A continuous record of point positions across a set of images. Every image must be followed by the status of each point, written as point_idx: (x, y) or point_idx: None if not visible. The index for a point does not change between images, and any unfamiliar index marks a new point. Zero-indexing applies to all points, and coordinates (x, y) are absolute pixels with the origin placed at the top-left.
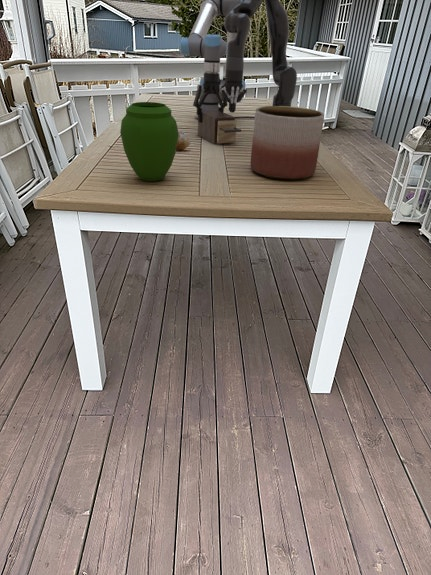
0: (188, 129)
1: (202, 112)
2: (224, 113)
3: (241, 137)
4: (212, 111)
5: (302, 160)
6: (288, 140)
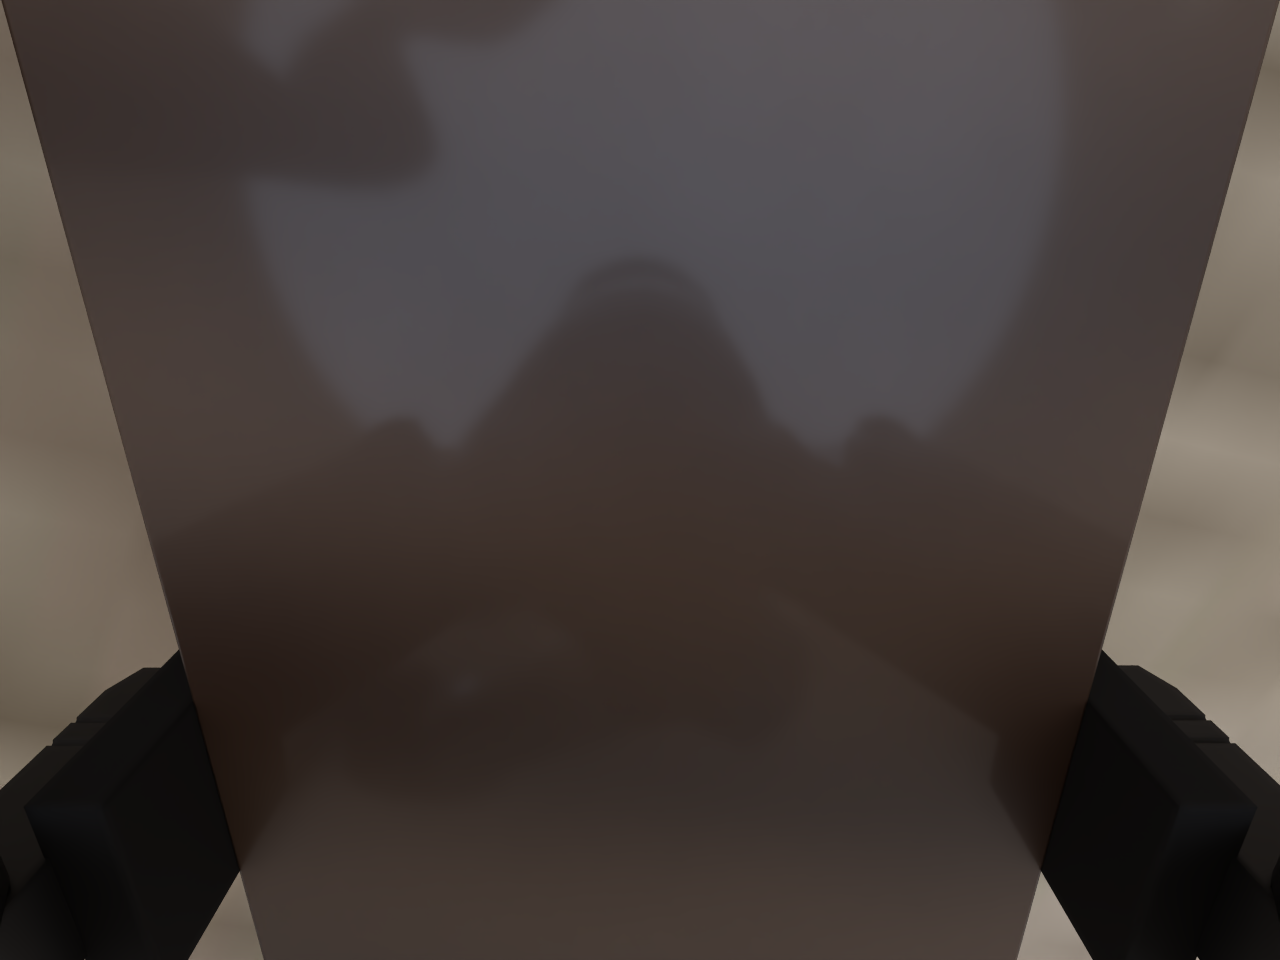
0: None
1: (1100, 637)
2: (132, 165)
3: (5, 188)
4: (573, 735)
5: None
6: None
